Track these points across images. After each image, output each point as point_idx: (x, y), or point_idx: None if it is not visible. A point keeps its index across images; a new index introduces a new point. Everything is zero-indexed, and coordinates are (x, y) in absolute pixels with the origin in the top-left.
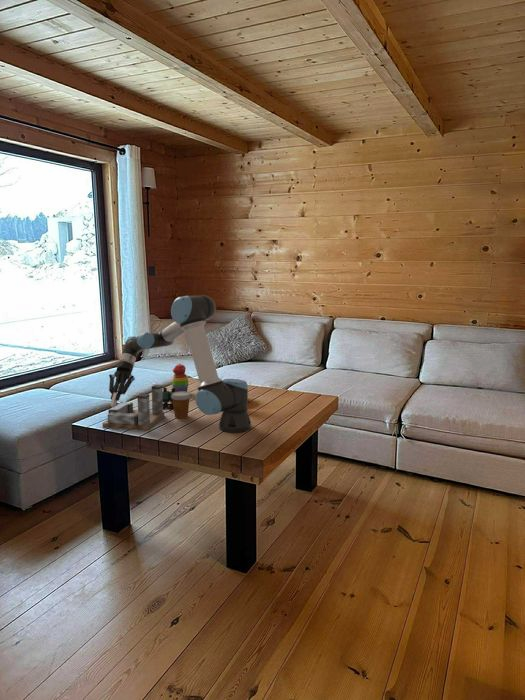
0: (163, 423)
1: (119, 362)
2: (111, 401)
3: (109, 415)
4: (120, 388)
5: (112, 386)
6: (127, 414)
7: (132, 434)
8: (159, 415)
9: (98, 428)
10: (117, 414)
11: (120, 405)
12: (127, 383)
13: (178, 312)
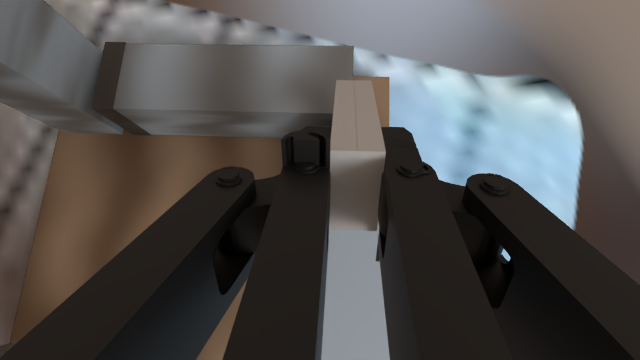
0: (10, 227)
1: None
2: (367, 92)
3: (336, 49)
4: (273, 209)
5: (532, 309)
6: (192, 80)
7: (162, 16)
8: (20, 316)
9: (400, 68)
10: (274, 64)
11: (349, 316)
12: (46, 332)
13: None
